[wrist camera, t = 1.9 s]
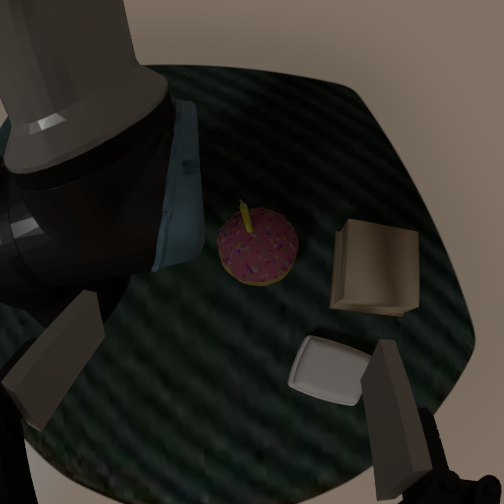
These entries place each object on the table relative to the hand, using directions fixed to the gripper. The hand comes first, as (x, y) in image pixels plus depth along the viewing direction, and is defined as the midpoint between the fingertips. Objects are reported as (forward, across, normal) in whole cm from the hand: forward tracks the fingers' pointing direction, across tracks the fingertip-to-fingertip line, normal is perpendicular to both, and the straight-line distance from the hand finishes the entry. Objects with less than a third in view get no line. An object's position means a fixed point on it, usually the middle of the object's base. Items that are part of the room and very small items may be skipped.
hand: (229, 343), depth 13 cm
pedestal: (+23, +14, -7) cm, 28 cm away
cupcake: (+23, 0, -7) cm, 24 cm away
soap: (+15, +10, -16) cm, 24 cm away
